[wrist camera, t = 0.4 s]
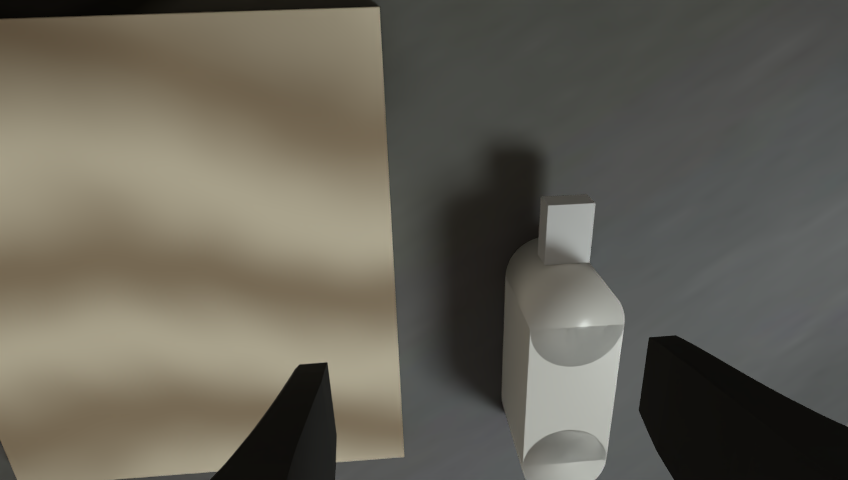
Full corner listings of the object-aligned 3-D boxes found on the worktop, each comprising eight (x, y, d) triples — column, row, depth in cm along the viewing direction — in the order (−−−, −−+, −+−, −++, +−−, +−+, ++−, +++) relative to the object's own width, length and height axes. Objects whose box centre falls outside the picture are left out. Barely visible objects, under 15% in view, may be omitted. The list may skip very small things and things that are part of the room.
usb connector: (570, 419, 26) (602, 490, 22) (500, 425, 26) (521, 497, 22) (593, 179, 21) (638, 218, 18) (508, 184, 21) (536, 224, 17)
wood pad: (403, 440, 25) (404, 456, 25) (33, 468, 25) (20, 486, 24) (379, 6, 18) (379, 7, 17) (-147, 23, 17) (-177, 25, 16)
